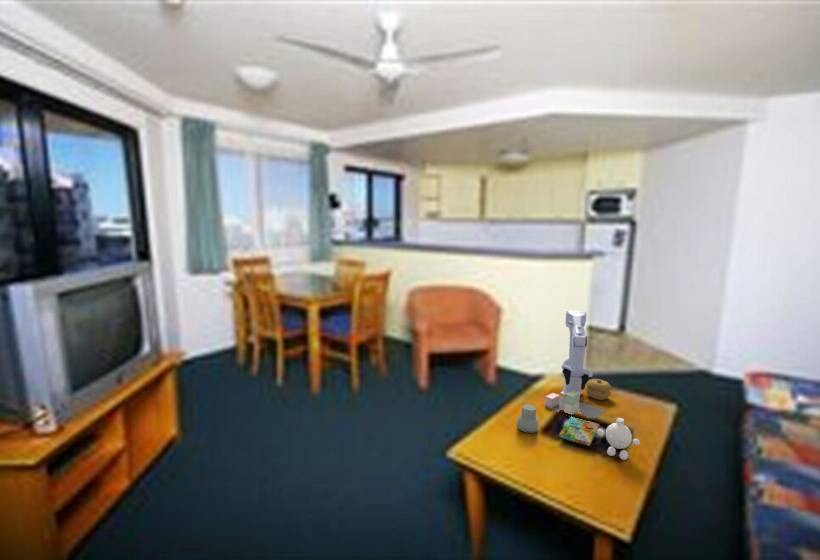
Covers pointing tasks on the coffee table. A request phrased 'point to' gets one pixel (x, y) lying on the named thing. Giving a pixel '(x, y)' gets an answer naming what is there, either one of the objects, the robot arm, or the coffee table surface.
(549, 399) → the rose brick
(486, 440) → the coffee table surface
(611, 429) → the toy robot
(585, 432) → the puzzle game
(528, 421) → the air freshener
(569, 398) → the sage brick
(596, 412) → the mat
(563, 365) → the robot arm
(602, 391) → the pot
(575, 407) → the cream brick
